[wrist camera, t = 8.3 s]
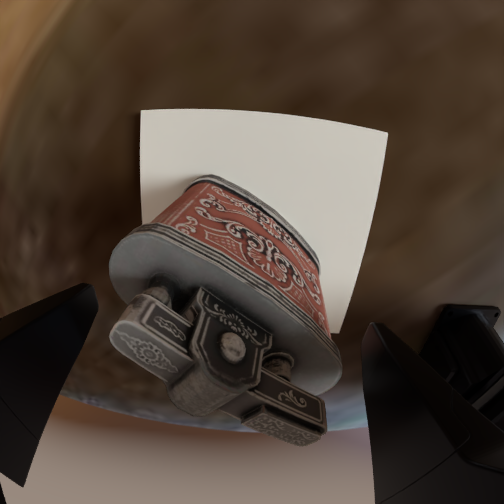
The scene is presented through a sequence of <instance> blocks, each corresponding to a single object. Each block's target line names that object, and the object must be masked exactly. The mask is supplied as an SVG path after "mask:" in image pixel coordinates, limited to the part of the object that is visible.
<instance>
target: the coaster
mask: <svg viewBox="0 0 504 504" xmlns="http://www.w3.org/2000/svg"><path fill="white" fill-rule="evenodd" d="M387 137H388V133H386V132H382V131H378V130H373V129H369V128H364V127H360V126H355V125H350V124H345V123H339V122H334V121H328V120H322V119H315V118H309V117H302V116H294V115H286V114H276V113H266V112H255V111H240V110H219V109H162V110H141V125H140V184H141V208H142V225H143V224H146V223H150V222H151V221H152V220H154V219H155V218H156V217H157V216H158V215H159V214H160V213H162V212H163V211H164V210H165V209H166V208H167V207H168V206H170V205H171V204H172V203H173V202H174V201H175V200H177V199H178V198H179V197H180V196H181V195H182V193H183V191H184V189H185V188H186V187H187V186H188V185H189V184H190V183H191V182H192V181H194V180H195V179H197V178H199V177H201V176H203V175H209V174H213V175H217V176H220V177H222V178H224V179H226V180H228V181H230V182H232V183H234V184H236V185H238V186H240V187H242V188H244V189H245V190H247V191H249V192H250V193H252V194H253V195H255V196H256V197H258V198H259V199H261V200H262V201H264V202H265V203H266V204H268V205H269V206H271V207H272V208H274V209H275V210H276V211H277V212H278V213H279V214H280V215H281V216H283V217H284V218H285V219H286V220H287V221H288V222H289V223H290V224H291V225H292V226H293V227H294V228H295V229H296V230H297V231H298V232H299V233H300V234H301V235H302V237H303V238H304V239H305V240H306V242H307V243H308V244H309V245H310V247H311V248H312V249H313V250H314V252H315V253H316V255H317V257H318V259H319V263H320V267H321V275H320V277H319V280H320V285H321V289H322V294H323V299H324V304H325V309H326V314H327V319H328V324H329V329H330V333H339V332H340V329H341V326H342V323H343V320H344V317H345V314H346V311H347V308H348V305H349V302H350V299H351V295H352V292H353V289H354V286H355V282H356V279H357V275H358V272H359V268H360V265H361V261H362V257H363V254H364V250H365V246H366V242H367V238H368V234H369V230H370V226H371V222H372V217H373V213H374V208H375V204H376V199H377V194H378V189H379V184H380V179H381V174H382V168H383V162H384V156H385V150H386V144H387Z"/></svg>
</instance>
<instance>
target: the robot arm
mask: <svg viewBox="0 0 504 504" xmlns="http://www.w3.org/2000/svg"><path fill="white" fill-rule="evenodd" d="M97 312H98V301H97V297H96V293H95V289H94V287H93V285H91V284H87V283H81V284H78V285H76V286H74V287H71V288H69V289H66V290H64V291H62V292H59V293H57V294H54V295H52V296H50V297H47V298H45V299H43V300H40V301H38V302H36V303H33V304H31V305H29V306H27V307H24V308H22V309H20V310H17V311H15V312H13V313H11V314H8V315H6V316H4V317H2V318H0V472H1V473H2V474H3V475H5V476H6V477H8V478H9V479H11V480H12V481H13V482H15V483H16V484H18V485H19V486H21V487H24V484H25V482H26V478H27V475H28V472H29V469H30V466H31V463H32V460H33V457H34V455H35V452H36V449H37V446H38V444H39V440H40V438H41V436H42V433H43V431H44V428H45V425H46V423H47V421H48V418H49V416H50V414H51V412H52V409H53V407H54V405H55V402H56V400H57V398H58V396H59V394H60V391H61V389H62V387H63V385H64V383H65V381H66V379H67V377H68V375H69V373H70V371H71V369H72V367H73V365H74V363H75V361H76V359H77V357H78V355H79V353H80V351H81V349H82V347H83V345H84V342H85V340H86V338H87V335H88V333H89V330H90V328H91V326H92V323H93V321H94V319H95V316H96V314H97ZM500 313H501V311H500V309H499V308H498V307H484V306H461V305H448V306H446V307H445V308H444V310H443V312H442V314H441V316H440V318H439V320H438V322H437V324H436V326H435V328H434V329H433V331H432V333H431V335H430V337H429V339H428V341H427V343H426V344H425V346H424V348H423V350H422V351H421V353H420V355H418V354H417V353H415V352H414V351H413V350H412V349H411V348H410V347H409V346H408V345H407V344H406V343H405V342H403V341H402V340H401V339H400V338H399V337H398V336H397V335H396V334H395V333H393V332H392V331H391V330H390V329H389V328H388V327H387V326H386V325H385V324H383V323H377V322H372V323H370V324H369V326H368V328H367V330H366V333H365V335H364V338H363V340H362V343H361V358H362V376H363V391H364V399H365V406H366V413H367V420H368V428H369V436H370V445H371V454H372V465H373V476H374V490H375V491H374V492H375V504H504V343H503V341H502V340H501V338H500V337H499V335H498V334H497V332H496V331H495V329H494V328H493V327H494V325H495V323H496V321H497V319H498V318H499V316H500ZM0 504H6V501H5V497H4V494H3V491H2V487H1V484H0Z"/></svg>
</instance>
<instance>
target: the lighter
mask: <svg viewBox="0 0 504 504" xmlns="http://www.w3.org/2000/svg"><path fill="white" fill-rule="evenodd" d="M109 275H110V279H111V282H112V285H113V287H114V290H115V291H116V292H117V294H118V295H119V296H120V297H121V299H122V300H123V301H124V302H125V303H126V304H127V305H128V306H127V307H126V309H125V310H124V312H123V313H122V315H121V316H120V318H119V319H118V320H117V322H116V323H115V325H114V326H113V328H112V330H111V332H110V336H109V337H110V341H111V343H112V344H113V346H114V347H115V348H116V349H117V350H118V351H119V352H121V353H122V354H123V355H125V356H126V357H128V358H129V359H131V360H132V361H134V362H135V363H137V364H138V365H140V366H141V367H143V368H145V369H146V370H148V371H149V372H151V373H153V374H154V375H156V376H157V377H159V378H161V379H162V380H163V382H164V384H165V385H166V388H167V393H168V396H169V398H170V400H171V401H172V402H173V404H174V405H175V406H176V407H177V408H178V409H180V410H182V411H184V412H186V413H188V414H190V415H192V416H201V417H202V416H205V415H207V414H209V413H210V412H212V411H214V410H217V409H218V410H220V411H222V412H224V413H226V414H228V415H230V416H233V417H235V418H237V419H239V420H241V424H242V425H244V426H247V427H249V428H251V429H254V430H256V431H259V432H261V433H264V434H266V435H269V436H271V437H274V438H277V439H279V440H282V441H285V442H287V443H290V444H294V445H297V446H307V445H310V444H312V443H314V442H317V441H318V440H320V439H321V436H322V435H324V434H325V433H326V432H327V420H326V409H325V402H324V400H322V399H321V398H319V397H317V396H318V395H320V394H322V393H324V392H326V391H328V390H329V389H331V388H332V387H333V386H334V385H336V383H337V382H338V380H339V379H340V377H341V375H342V362H341V357H340V352H339V350H338V348H337V346H336V344H335V343H334V342H333V341H332V340H331V335H330V329H329V324H328V319H327V314H326V309H325V304H324V299H323V294H322V289H321V285H320V280H319V277H320V275H321V267H320V263H319V259H318V257H317V255H316V253H315V252H314V250H313V249H312V248H311V247H310V245H309V244H308V243H307V242H306V240H305V239H304V238H303V237H302V235H301V234H300V233H299V232H298V231H297V230H296V229H295V228H294V227H293V226H292V225H291V224H290V223H289V222H288V221H287V220H286V219H285V218H284V217H283V216H281V215H280V214H279V213H278V212H277V211H276V210H275V209H274V208H272V207H271V206H269V205H268V204H266V203H265V202H264V201H262V200H261V199H259V198H258V197H256V196H255V195H253V194H252V193H250V192H249V191H247V190H245V189H244V188H242V187H240V186H238V185H236V184H234V183H232V182H230V181H228V180H226V179H224V178H222V177H220V176H217V175H213V174H209V175H203V176H201V177H199V178H197V179H195V180H194V181H192V182H191V183H190V184H189V185H188V186H187V187H186V188H185V189H184V191H183V193H182V195H181V196H180V197H179V198H178V199H177V200H175V201H174V202H173V203H172V204H171V205H170V206H168V207H167V208H166V209H165V210H164V211H163V212H162V213H160V214H159V215H158V216H157V217H156V218H155V219H154V220H152V221H151V222H150V223H146V224H143V225H141V226H139V227H137V228H136V229H134V230H132V231H131V232H130V233H129V234H128V235H127V236H125V237H124V238H123V239H122V240H121V241H120V242H119V244H118V245H117V246H116V247H115V249H114V250H113V252H112V255H111V258H110V262H109Z"/></svg>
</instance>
